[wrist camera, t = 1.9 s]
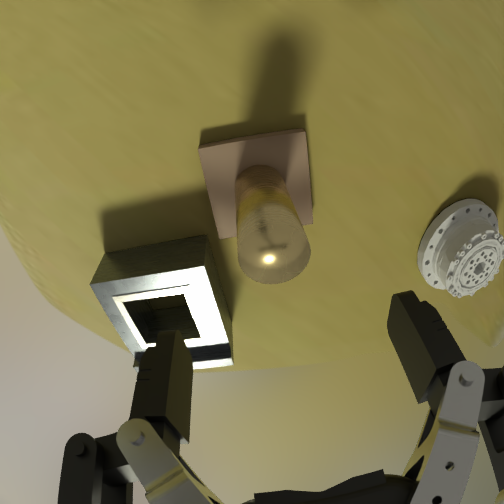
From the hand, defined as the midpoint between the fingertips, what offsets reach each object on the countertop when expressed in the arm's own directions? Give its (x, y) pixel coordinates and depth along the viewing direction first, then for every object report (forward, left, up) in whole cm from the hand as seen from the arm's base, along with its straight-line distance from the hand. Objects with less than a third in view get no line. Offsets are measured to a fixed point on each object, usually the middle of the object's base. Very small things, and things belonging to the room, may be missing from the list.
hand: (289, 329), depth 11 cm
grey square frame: (+8, -9, -13) cm, 18 cm away
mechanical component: (+9, +19, -14) cm, 25 cm away
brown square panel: (0, 0, -13) cm, 13 cm away
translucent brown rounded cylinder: (0, 0, -12) cm, 12 cm away
